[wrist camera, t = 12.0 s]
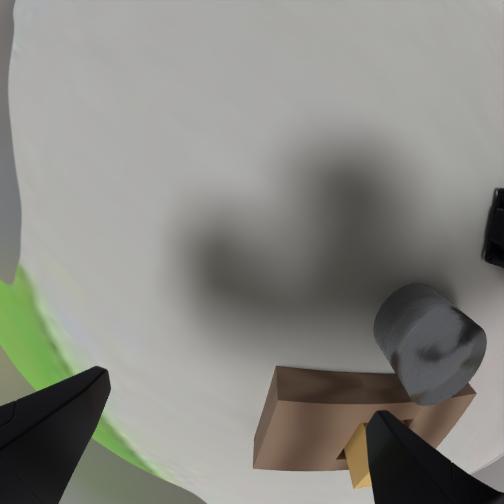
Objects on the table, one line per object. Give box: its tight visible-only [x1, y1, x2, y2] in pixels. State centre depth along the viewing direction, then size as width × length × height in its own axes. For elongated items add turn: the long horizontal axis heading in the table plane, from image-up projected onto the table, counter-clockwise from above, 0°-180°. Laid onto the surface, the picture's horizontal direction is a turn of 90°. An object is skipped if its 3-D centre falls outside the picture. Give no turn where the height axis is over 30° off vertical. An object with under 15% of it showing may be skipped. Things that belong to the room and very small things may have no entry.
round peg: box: [374, 283, 487, 406], centre depth 16 cm, size 6×6×7 cm
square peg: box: [344, 420, 405, 489], centre depth 19 cm, size 4×4×8 cm
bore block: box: [253, 366, 477, 471], centre depth 21 cm, size 20×10×4 cm, turn 80°
